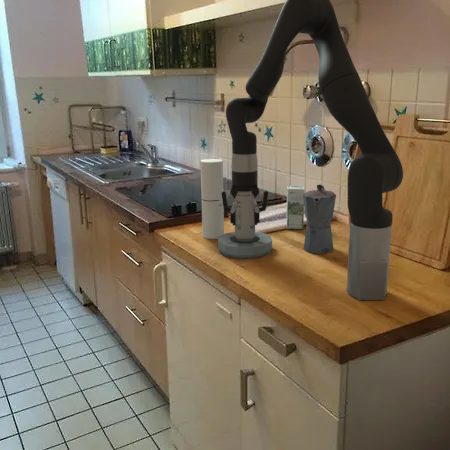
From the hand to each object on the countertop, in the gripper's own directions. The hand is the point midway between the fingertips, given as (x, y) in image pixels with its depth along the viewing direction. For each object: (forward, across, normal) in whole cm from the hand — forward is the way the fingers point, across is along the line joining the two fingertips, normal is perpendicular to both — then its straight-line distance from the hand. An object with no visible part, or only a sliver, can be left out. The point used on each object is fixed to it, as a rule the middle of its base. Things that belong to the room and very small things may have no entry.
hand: (244, 224), depth 149 cm
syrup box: (+8, +18, +23) cm, 30 cm away
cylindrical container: (+8, -10, +15) cm, 20 cm away
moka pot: (+8, +22, 0) cm, 23 cm away
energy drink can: (+5, 0, 0) cm, 5 cm away
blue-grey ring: (+8, 0, 0) cm, 8 cm away
